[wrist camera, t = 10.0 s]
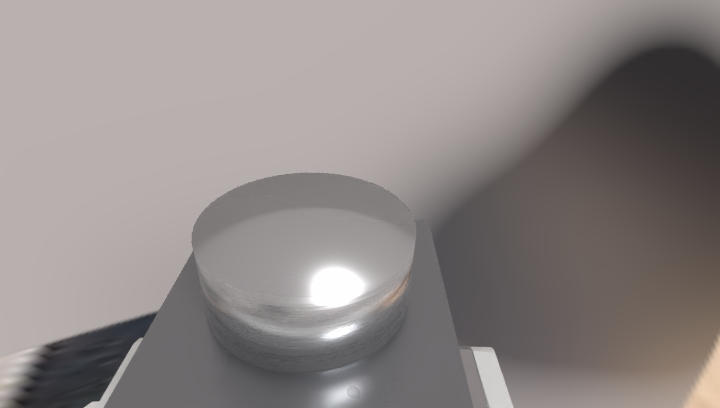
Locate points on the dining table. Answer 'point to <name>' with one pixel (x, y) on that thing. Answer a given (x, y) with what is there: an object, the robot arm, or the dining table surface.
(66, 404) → the dining table surface
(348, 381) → the metal toy brick
